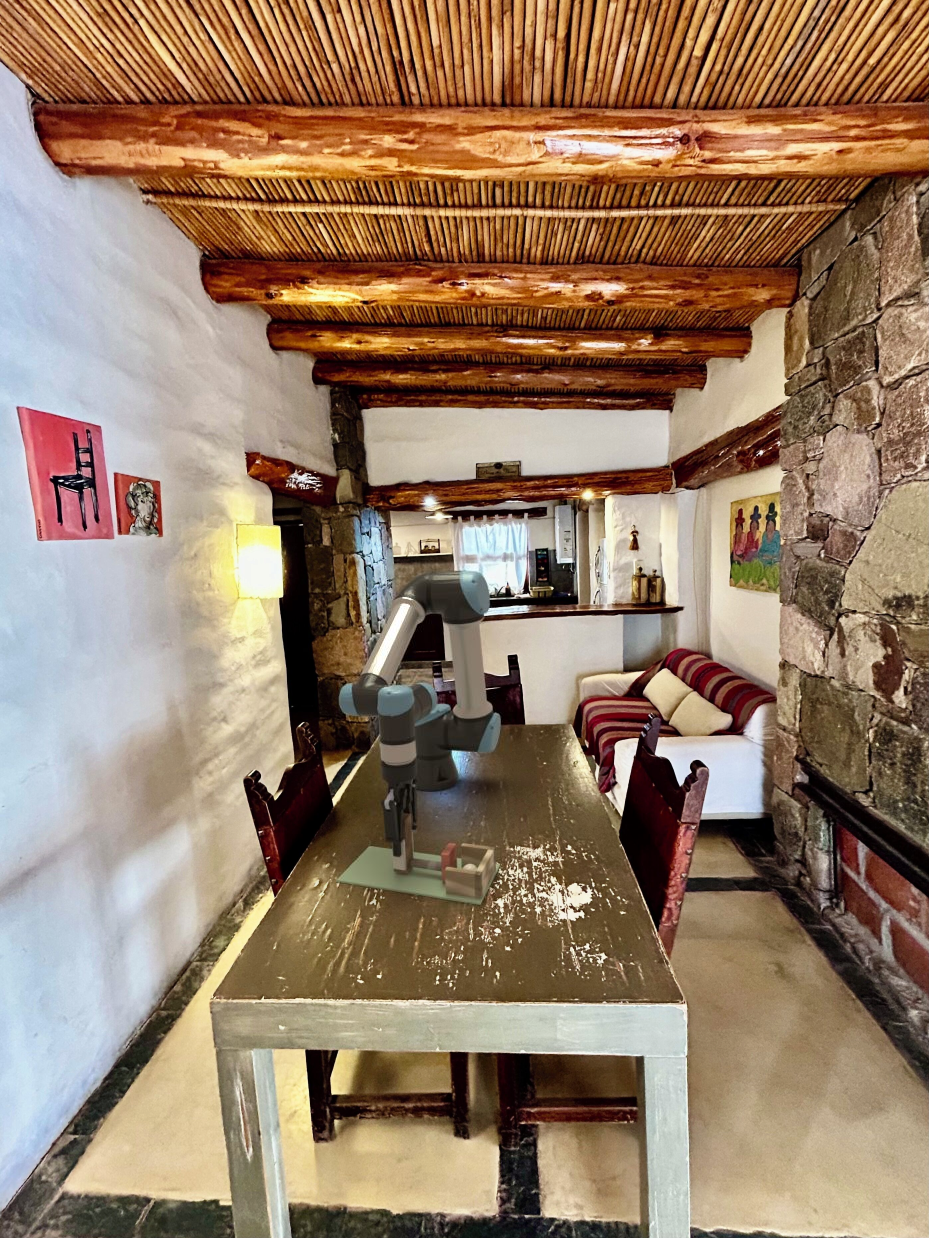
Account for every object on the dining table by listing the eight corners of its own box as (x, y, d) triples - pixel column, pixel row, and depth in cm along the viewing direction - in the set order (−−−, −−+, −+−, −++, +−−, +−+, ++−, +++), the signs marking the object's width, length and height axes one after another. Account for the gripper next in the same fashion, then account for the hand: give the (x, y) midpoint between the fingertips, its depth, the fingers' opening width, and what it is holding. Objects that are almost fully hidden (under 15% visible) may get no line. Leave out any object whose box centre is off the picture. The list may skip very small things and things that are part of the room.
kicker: (401, 862, 130) (399, 810, 128) (457, 870, 126) (455, 816, 124) (392, 874, 125) (389, 820, 124) (449, 882, 121) (447, 827, 120)
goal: (463, 864, 128) (462, 843, 128) (495, 869, 126) (495, 847, 126) (445, 893, 118) (444, 869, 117) (480, 898, 116) (480, 874, 115)
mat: (369, 847, 138) (369, 845, 138) (500, 865, 128) (500, 863, 128) (336, 881, 124) (336, 879, 124) (480, 905, 114) (480, 903, 114)
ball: (482, 874, 123) (467, 877, 124) (477, 859, 123) (462, 862, 124) (477, 883, 120) (462, 886, 121) (472, 867, 120) (456, 870, 121)
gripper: (399, 745, 133) (404, 843, 136) (364, 771, 118) (370, 881, 120) (429, 748, 130) (434, 847, 133) (397, 775, 115) (403, 887, 118)
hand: (403, 863), depth 127 cm, fingers closed on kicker, 3 cm apart
